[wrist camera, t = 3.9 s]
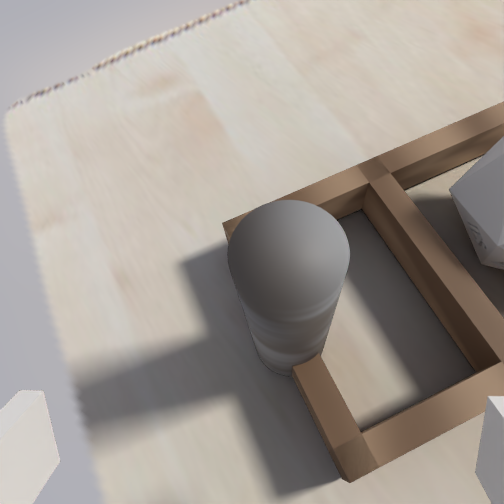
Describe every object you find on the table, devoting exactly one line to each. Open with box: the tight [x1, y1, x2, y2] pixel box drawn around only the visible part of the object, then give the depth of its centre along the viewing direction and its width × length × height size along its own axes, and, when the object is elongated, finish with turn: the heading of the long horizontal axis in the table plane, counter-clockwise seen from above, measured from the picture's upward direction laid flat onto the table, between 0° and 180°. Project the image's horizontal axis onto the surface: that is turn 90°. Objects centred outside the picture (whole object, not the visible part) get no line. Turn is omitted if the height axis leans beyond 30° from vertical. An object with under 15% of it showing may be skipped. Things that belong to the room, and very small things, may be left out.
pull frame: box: [222, 102, 504, 483], centre depth 20 cm, size 24×15×12 cm, turn 114°
